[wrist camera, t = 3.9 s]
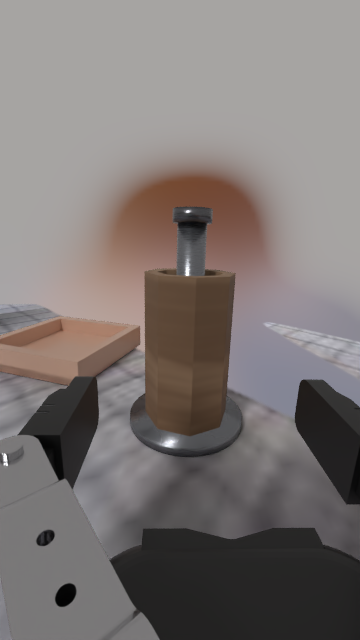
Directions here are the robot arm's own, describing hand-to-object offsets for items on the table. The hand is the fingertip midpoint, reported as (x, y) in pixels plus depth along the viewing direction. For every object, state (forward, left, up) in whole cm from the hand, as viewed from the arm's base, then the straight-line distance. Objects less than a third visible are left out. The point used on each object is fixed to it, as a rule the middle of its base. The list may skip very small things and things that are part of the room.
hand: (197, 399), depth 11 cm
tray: (-19, +15, -7) cm, 25 cm away
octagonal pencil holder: (-3, +8, -6) cm, 10 cm away
